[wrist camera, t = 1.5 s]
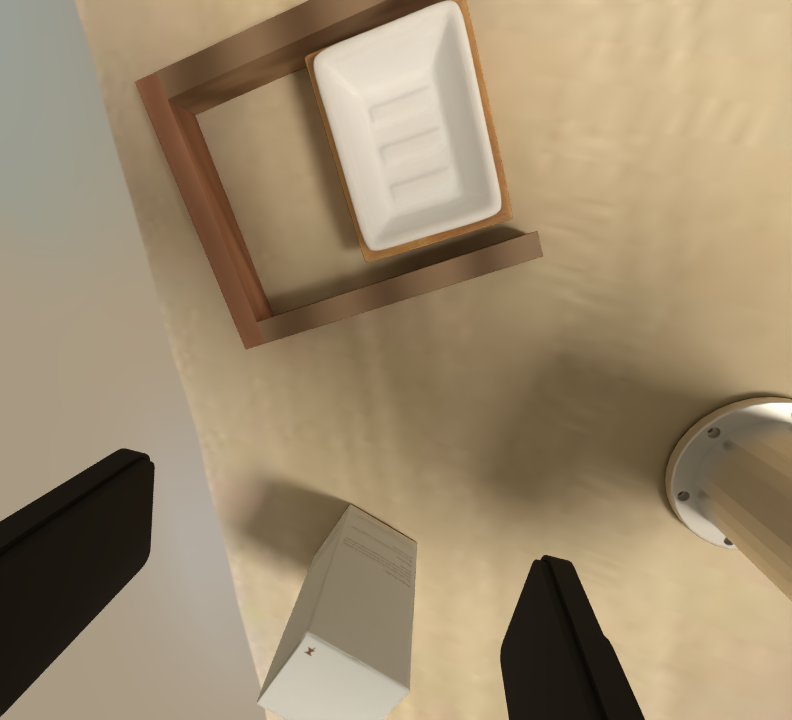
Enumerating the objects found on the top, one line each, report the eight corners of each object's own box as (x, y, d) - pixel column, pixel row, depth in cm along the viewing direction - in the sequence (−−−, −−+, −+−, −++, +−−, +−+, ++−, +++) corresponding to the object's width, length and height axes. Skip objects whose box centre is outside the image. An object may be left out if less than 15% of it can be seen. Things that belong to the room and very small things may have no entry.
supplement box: (311, 557, 37) (249, 704, 25) (350, 500, 35) (305, 631, 23) (378, 597, 38) (349, 761, 25) (421, 543, 36) (412, 694, 23)
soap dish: (320, 82, 27) (295, 44, 22) (461, 27, 26) (467, -27, 21) (373, 262, 30) (361, 264, 25) (504, 223, 28) (518, 216, 23)
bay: (493, -149, 23) (538, -476, 13) (575, 242, 28) (656, 235, 18) (136, 27, 27) (-47, -111, 17) (262, 340, 32) (180, 381, 22)
